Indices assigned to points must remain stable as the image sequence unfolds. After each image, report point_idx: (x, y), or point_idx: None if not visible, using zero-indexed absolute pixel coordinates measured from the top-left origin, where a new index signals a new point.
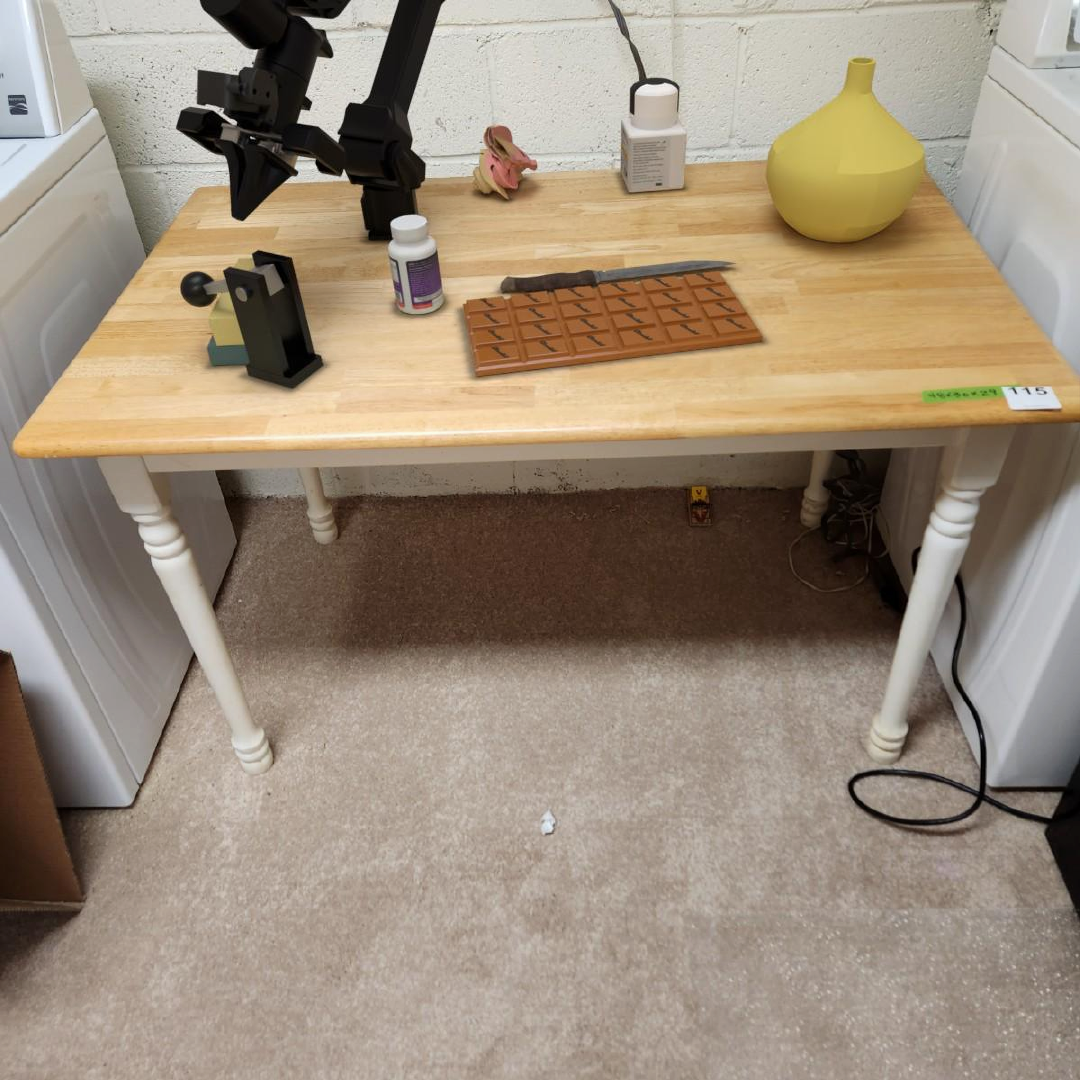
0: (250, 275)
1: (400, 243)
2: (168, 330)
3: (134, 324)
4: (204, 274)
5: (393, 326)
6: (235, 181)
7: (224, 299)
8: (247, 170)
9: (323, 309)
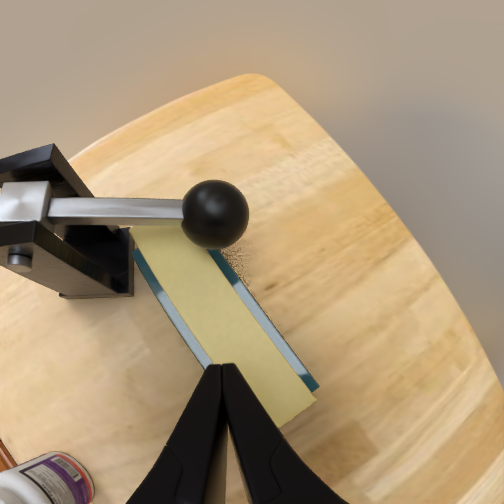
0: (5, 161)
1: (8, 489)
2: (335, 260)
3: (386, 247)
4: (196, 214)
5: (55, 419)
6: (250, 448)
7: (198, 261)
8: (183, 498)
9: (170, 427)
